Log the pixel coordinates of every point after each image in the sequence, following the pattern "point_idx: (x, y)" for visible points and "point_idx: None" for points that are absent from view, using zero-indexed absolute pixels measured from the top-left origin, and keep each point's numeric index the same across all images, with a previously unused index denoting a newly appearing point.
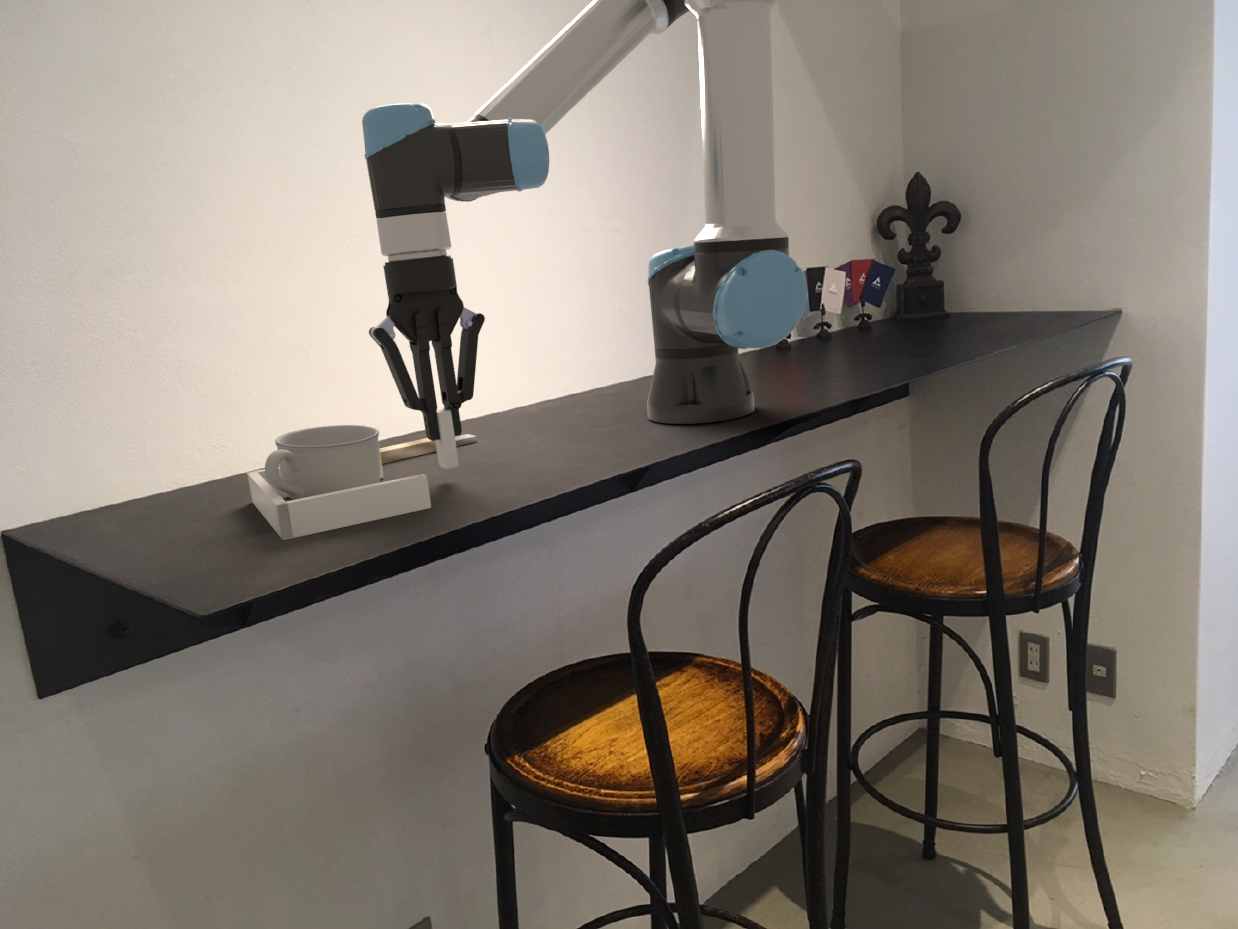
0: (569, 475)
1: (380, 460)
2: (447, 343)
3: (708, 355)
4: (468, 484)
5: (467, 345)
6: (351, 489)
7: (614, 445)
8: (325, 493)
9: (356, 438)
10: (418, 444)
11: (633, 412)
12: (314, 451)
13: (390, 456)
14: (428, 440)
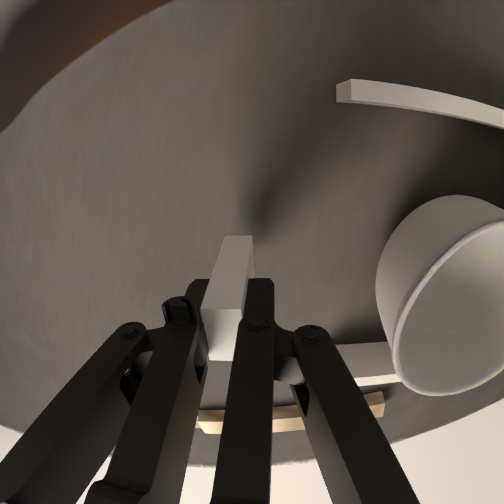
0: (70, 131)
1: None
2: (106, 499)
3: None
4: (222, 199)
5: (45, 456)
6: (486, 113)
7: (9, 260)
8: None
9: (402, 357)
10: None
11: (11, 367)
12: None
13: (277, 412)
14: (217, 425)
